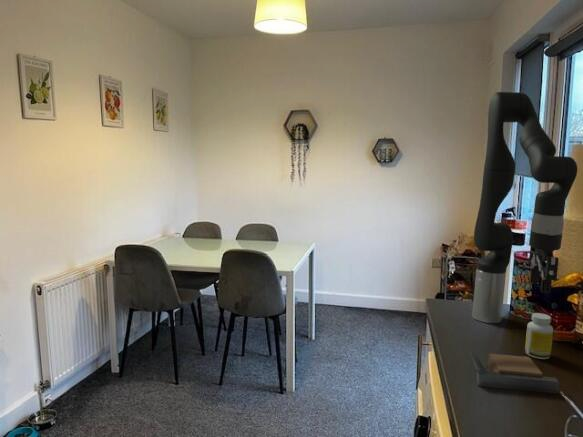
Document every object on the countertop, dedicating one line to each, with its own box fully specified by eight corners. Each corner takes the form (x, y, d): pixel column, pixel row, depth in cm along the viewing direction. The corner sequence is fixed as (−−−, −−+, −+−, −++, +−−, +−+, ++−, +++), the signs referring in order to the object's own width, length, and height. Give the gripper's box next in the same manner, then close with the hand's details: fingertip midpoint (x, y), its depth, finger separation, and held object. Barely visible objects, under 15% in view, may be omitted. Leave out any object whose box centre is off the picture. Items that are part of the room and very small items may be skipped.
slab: (487, 367, 118) (489, 353, 117) (527, 371, 116) (529, 357, 116) (497, 385, 109) (499, 370, 109) (541, 389, 108) (542, 374, 107)
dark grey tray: (463, 355, 124) (464, 345, 123) (532, 362, 121) (533, 351, 120) (478, 385, 108) (479, 374, 107) (557, 393, 105) (558, 382, 105)
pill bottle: (553, 361, 121) (558, 321, 120) (528, 358, 123) (533, 319, 121) (545, 351, 128) (550, 312, 126) (521, 348, 129) (525, 310, 127)
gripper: (523, 225, 127) (517, 279, 129) (540, 235, 113) (533, 295, 116) (551, 226, 125) (544, 281, 128) (573, 236, 111) (564, 297, 114)
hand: (539, 287), depth 122 cm, fingers open, 8 cm apart
